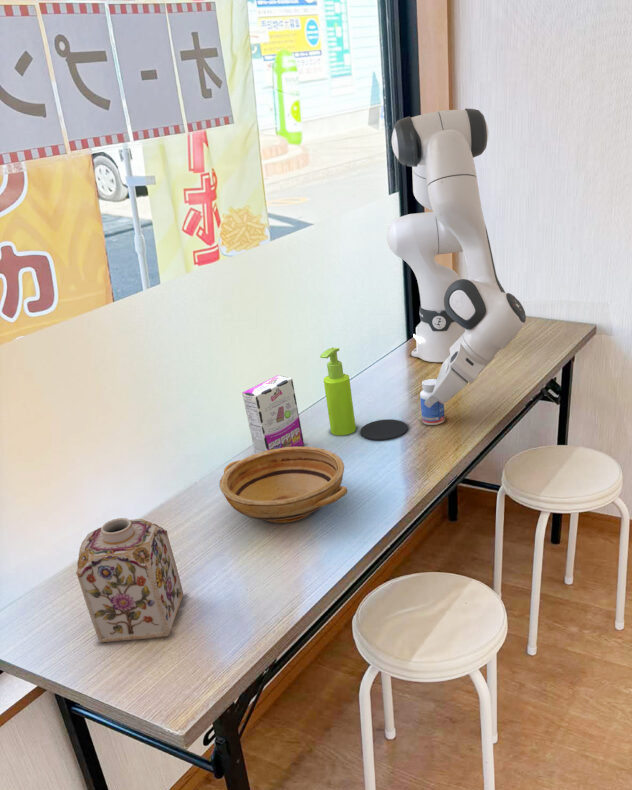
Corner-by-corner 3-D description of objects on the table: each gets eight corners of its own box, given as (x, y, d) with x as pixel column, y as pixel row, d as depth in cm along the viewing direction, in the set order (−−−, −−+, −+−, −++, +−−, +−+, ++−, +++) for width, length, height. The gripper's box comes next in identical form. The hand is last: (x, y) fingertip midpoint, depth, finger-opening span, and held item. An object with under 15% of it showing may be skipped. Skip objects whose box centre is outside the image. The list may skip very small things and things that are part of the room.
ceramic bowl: (192, 519, 168) (183, 484, 165) (274, 468, 185) (268, 435, 182) (305, 556, 153) (298, 518, 149) (384, 497, 170) (380, 461, 166)
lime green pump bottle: (323, 435, 199) (311, 353, 189) (339, 423, 204) (328, 343, 194) (345, 438, 196) (333, 356, 186) (360, 426, 201) (350, 345, 192)
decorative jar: (186, 595, 145) (161, 503, 137) (171, 637, 135) (144, 541, 126) (116, 601, 145) (88, 510, 137) (96, 644, 135) (64, 548, 126)
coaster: (365, 421, 204) (365, 419, 204) (410, 420, 202) (410, 419, 202) (356, 441, 194) (355, 439, 194) (403, 440, 192) (403, 438, 192)
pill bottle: (445, 424, 198) (442, 385, 193) (422, 426, 198) (418, 387, 194) (444, 415, 203) (442, 376, 198) (422, 417, 203) (419, 378, 198)
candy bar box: (289, 440, 198) (277, 374, 190) (304, 445, 195) (293, 377, 187) (254, 460, 190) (240, 391, 182) (269, 464, 187) (256, 395, 180)
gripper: (463, 332, 200) (425, 372, 206) (453, 362, 182) (412, 406, 188) (483, 349, 201) (444, 389, 207) (475, 381, 183) (433, 424, 190)
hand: (429, 397), depth 198 cm, fingers open, 7 cm apart
